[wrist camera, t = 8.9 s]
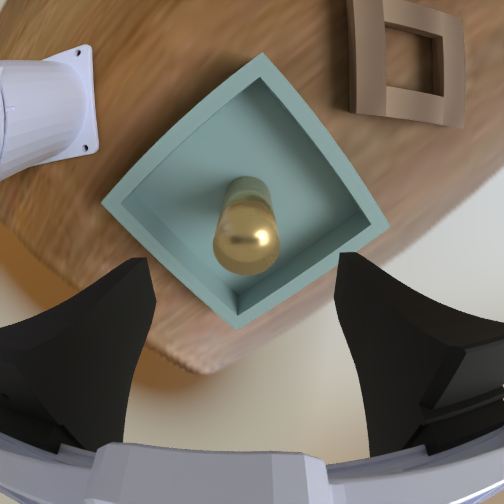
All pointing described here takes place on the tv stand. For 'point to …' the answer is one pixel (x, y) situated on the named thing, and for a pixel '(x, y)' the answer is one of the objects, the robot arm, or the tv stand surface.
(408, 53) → the tv stand surface
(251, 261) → the pin
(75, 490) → the robot arm
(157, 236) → the tray
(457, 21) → the collar
